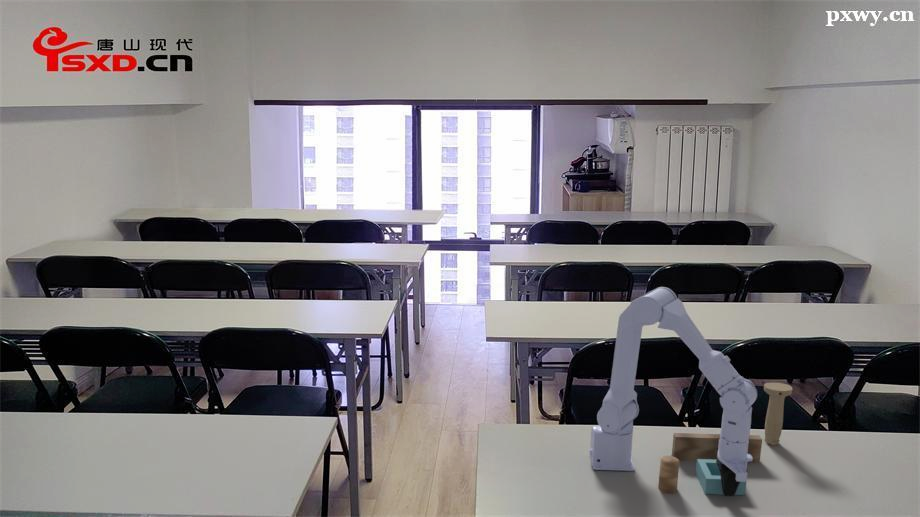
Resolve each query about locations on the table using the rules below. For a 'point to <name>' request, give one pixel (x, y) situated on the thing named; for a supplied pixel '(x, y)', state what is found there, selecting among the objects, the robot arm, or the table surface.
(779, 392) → the handle
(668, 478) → the dowel
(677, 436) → the wall
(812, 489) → the table surface
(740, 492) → the socket block
